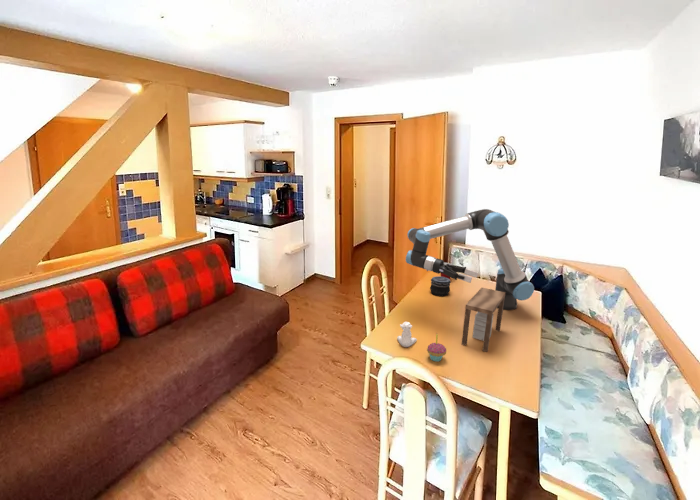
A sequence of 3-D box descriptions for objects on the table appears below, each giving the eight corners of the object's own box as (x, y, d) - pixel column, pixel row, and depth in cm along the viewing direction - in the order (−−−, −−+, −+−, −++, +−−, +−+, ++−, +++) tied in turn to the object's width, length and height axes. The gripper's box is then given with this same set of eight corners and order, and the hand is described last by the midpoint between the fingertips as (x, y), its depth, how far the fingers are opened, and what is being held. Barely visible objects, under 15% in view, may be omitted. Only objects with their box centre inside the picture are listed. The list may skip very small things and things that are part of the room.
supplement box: (476, 332, 197) (479, 309, 194) (491, 336, 193) (494, 313, 190) (471, 337, 191) (474, 314, 188) (486, 342, 187) (490, 318, 184)
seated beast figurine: (416, 341, 186) (418, 318, 183) (415, 350, 178) (417, 326, 175) (397, 338, 188) (398, 316, 185) (395, 347, 180) (396, 324, 177)
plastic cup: (453, 283, 267) (455, 267, 264) (438, 282, 269) (439, 266, 266) (452, 278, 277) (454, 262, 274) (437, 277, 279) (439, 261, 276)
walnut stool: (461, 344, 184) (465, 304, 178) (477, 323, 206) (481, 287, 201) (486, 352, 178) (492, 311, 172) (500, 329, 200) (505, 292, 195)
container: (437, 288, 257) (438, 274, 254) (453, 293, 248) (455, 279, 245) (425, 292, 249) (426, 278, 246) (442, 298, 240) (443, 283, 237)
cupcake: (424, 354, 175) (426, 330, 172) (442, 353, 176) (444, 329, 172) (429, 364, 167) (431, 339, 164) (448, 363, 167) (450, 339, 164)
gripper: (439, 267, 212) (477, 279, 202) (424, 275, 191) (466, 289, 181) (443, 254, 210) (481, 266, 200) (428, 261, 189) (470, 275, 179)
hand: (474, 277), depth 191 cm, fingers open, 13 cm apart
